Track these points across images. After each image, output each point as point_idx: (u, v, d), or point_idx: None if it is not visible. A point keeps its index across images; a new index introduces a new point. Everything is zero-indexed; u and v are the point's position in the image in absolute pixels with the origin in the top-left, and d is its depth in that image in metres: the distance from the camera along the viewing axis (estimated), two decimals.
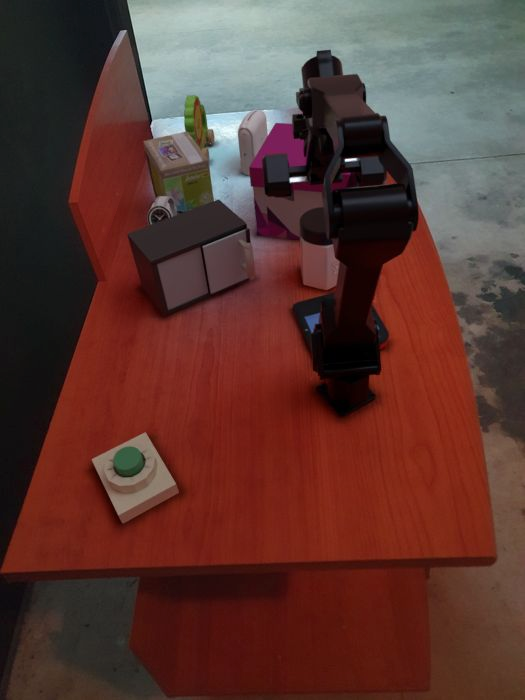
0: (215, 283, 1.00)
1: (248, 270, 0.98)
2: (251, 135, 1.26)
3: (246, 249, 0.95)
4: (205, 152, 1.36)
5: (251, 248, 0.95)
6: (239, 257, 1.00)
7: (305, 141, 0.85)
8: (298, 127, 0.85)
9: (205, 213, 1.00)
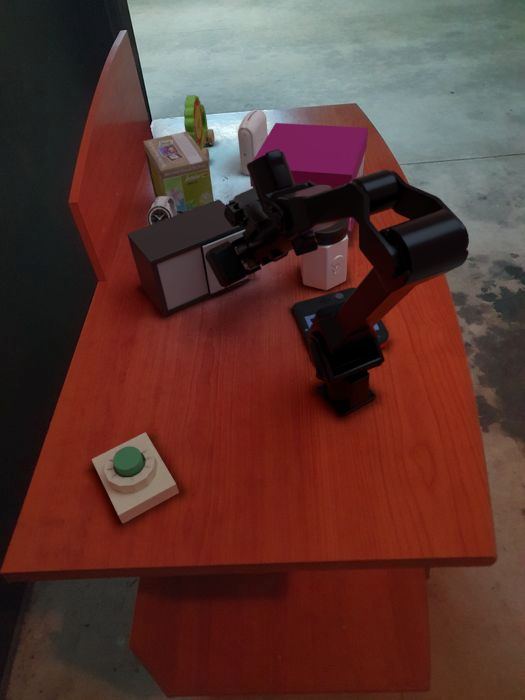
0: (215, 283, 1.00)
1: None
2: (251, 135, 1.26)
3: None
4: (205, 152, 1.36)
5: None
6: None
7: (250, 229, 0.86)
8: (238, 216, 0.86)
9: (205, 213, 1.00)
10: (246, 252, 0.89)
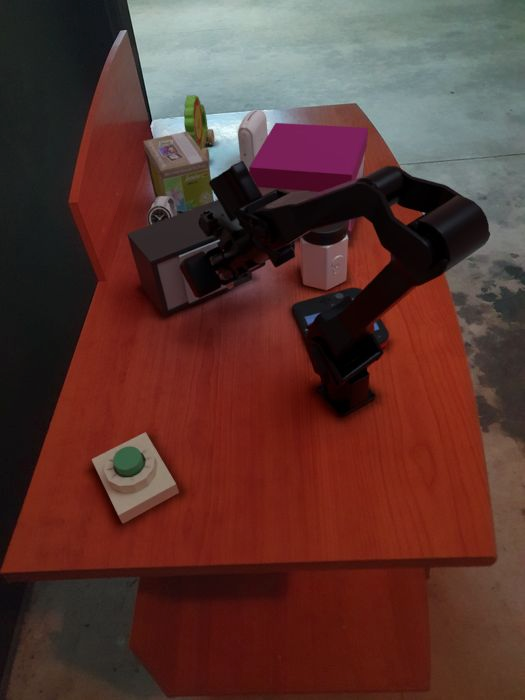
0: (192, 292, 0.99)
1: None
2: (251, 135, 1.26)
3: None
4: (205, 152, 1.36)
5: None
6: None
7: (224, 239, 0.85)
8: (212, 226, 0.84)
9: None
10: (221, 262, 0.87)
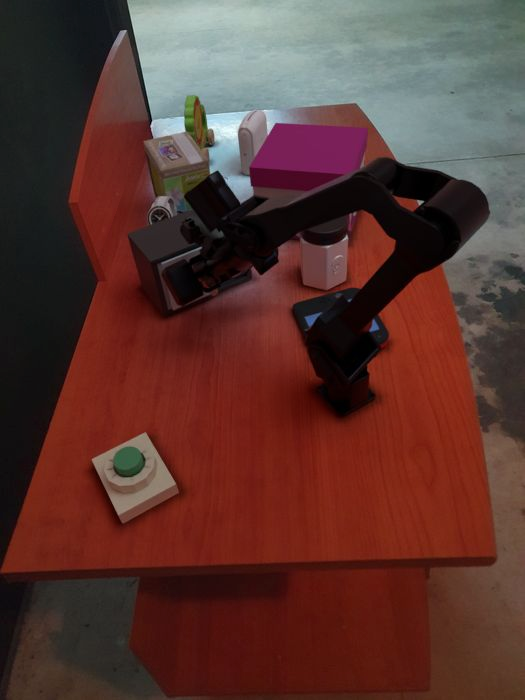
0: None
1: None
2: (251, 135, 1.26)
3: None
4: (205, 152, 1.36)
5: None
6: None
7: (206, 247, 0.84)
8: (194, 234, 0.83)
9: None
10: (203, 270, 0.86)
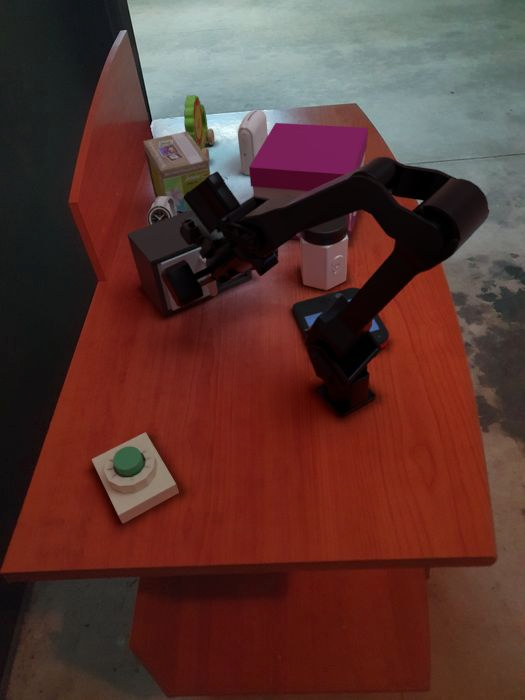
0: None
1: (209, 287, 0.96)
2: (251, 135, 1.26)
3: (206, 266, 0.93)
4: (205, 152, 1.36)
5: None
6: None
7: (206, 248, 0.84)
8: (194, 235, 0.83)
9: None
10: (203, 271, 0.86)
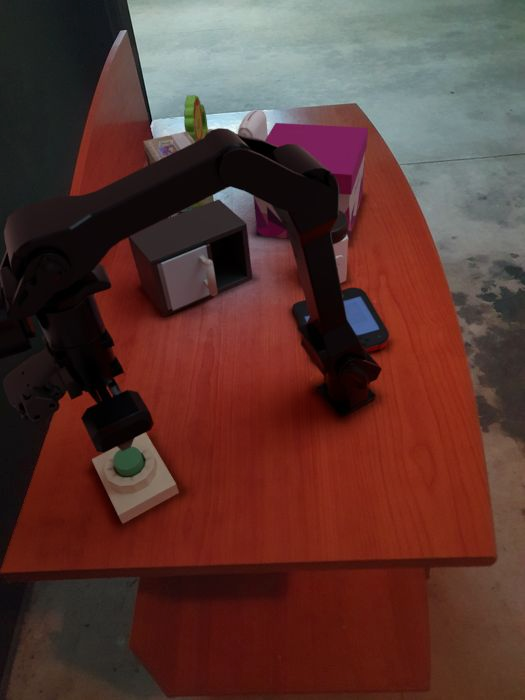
0: (176, 299, 0.98)
1: (209, 287, 0.96)
2: (251, 135, 1.26)
3: (206, 266, 0.93)
4: None
5: (211, 264, 0.93)
6: (201, 273, 0.97)
7: (66, 378, 0.57)
8: (43, 393, 0.56)
9: (205, 213, 1.00)
10: (101, 392, 0.59)
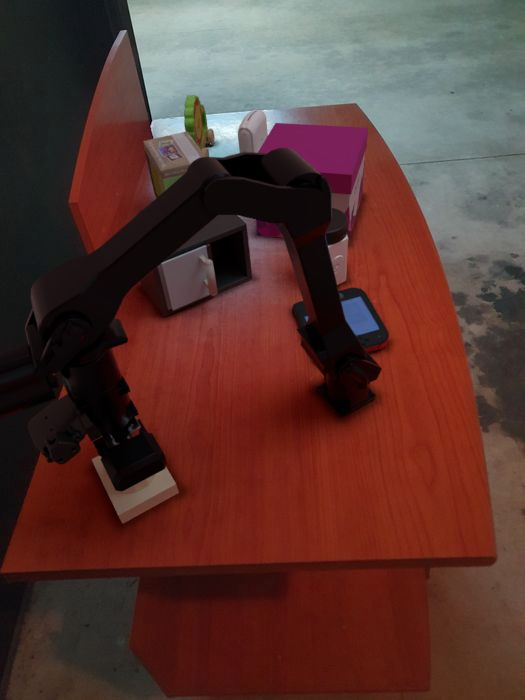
0: (176, 299, 0.98)
1: (209, 287, 0.96)
2: (251, 135, 1.26)
3: (206, 266, 0.93)
4: (205, 152, 1.36)
5: (211, 264, 0.93)
6: (201, 273, 0.97)
7: (86, 423, 0.62)
8: (66, 438, 0.60)
9: None
10: (118, 434, 0.64)
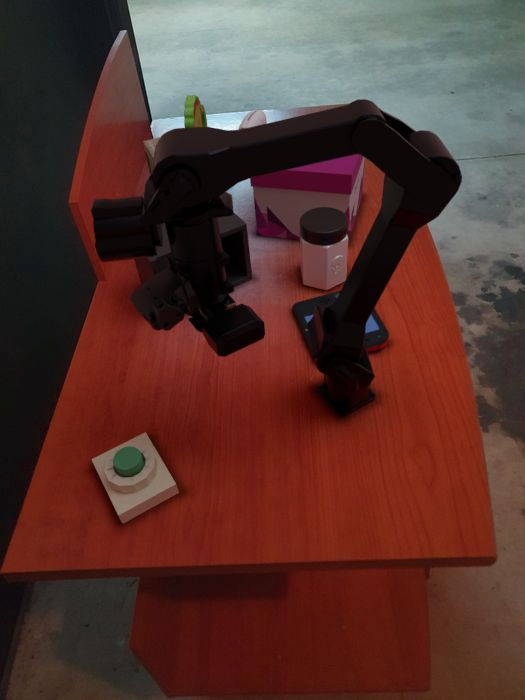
0: None
1: None
2: None
3: None
4: None
5: None
6: None
7: (189, 291, 0.64)
8: (172, 303, 0.63)
9: None
10: (217, 307, 0.66)
